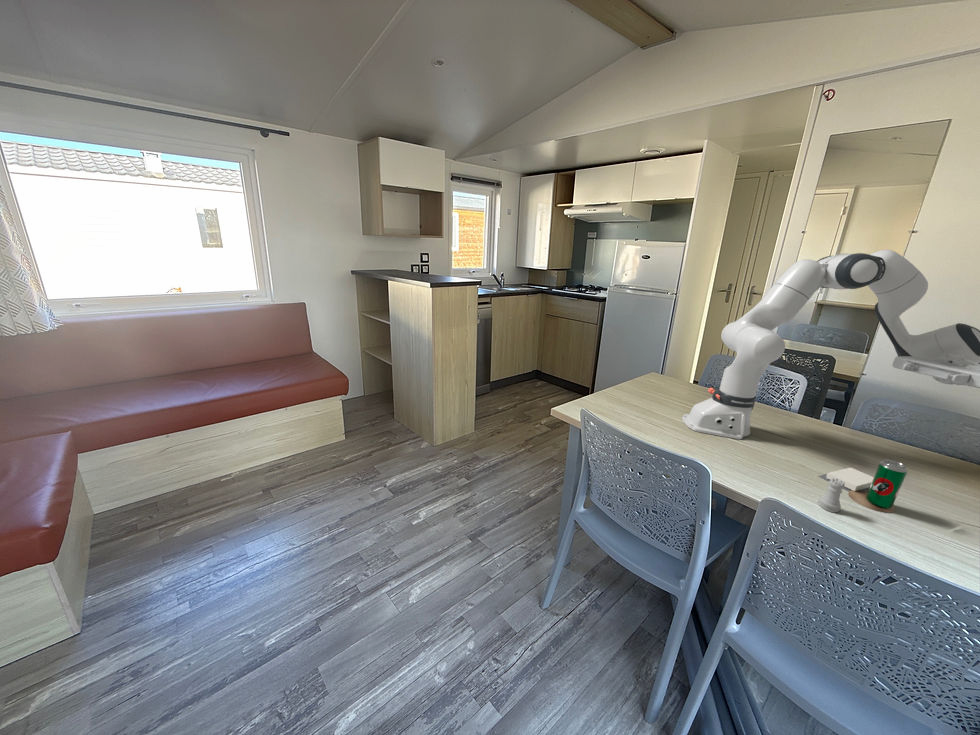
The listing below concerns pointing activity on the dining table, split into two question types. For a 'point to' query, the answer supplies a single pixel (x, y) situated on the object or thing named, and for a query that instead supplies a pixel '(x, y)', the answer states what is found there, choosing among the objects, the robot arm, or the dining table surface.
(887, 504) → the soda can
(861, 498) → the coaster
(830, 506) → the rook chess piece
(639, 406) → the dining table surface
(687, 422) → the robot arm
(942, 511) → the dining table surface
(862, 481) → the glazed tile
